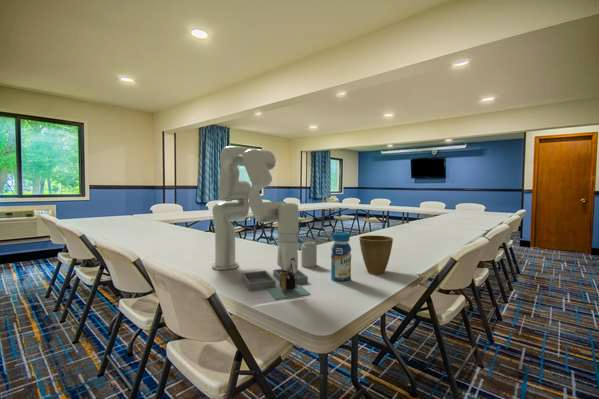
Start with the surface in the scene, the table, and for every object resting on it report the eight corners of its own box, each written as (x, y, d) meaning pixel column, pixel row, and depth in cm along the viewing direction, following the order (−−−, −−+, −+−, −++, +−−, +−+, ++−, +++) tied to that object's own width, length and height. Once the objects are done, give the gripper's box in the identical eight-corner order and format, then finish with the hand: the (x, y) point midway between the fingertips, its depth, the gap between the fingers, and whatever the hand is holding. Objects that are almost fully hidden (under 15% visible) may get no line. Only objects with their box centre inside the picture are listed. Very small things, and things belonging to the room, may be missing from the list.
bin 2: (273, 276, 123) (273, 269, 123) (295, 274, 127) (295, 267, 127) (283, 287, 110) (283, 279, 110) (307, 284, 113) (307, 276, 113)
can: (315, 269, 134) (315, 244, 133) (299, 268, 135) (300, 243, 135) (317, 265, 141) (317, 241, 141) (302, 264, 143) (302, 240, 142)
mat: (266, 290, 106) (266, 288, 106) (299, 286, 111) (299, 284, 111) (275, 301, 96) (275, 299, 96) (310, 296, 101) (310, 293, 101)
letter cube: (279, 285, 105) (279, 272, 105) (292, 284, 107) (292, 270, 107) (283, 290, 100) (283, 276, 100) (296, 288, 102) (297, 274, 102)
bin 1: (242, 280, 118) (242, 273, 118) (265, 277, 122) (265, 270, 122) (249, 291, 105) (248, 284, 105) (275, 288, 109) (275, 280, 108)
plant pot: (394, 269, 134) (394, 236, 133) (390, 279, 120) (390, 241, 119) (362, 266, 140) (363, 234, 139) (355, 274, 126) (355, 238, 126)
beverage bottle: (339, 276, 123) (339, 230, 123) (355, 280, 117) (355, 233, 117) (326, 280, 118) (326, 233, 117) (342, 285, 112) (343, 235, 111)
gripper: (271, 234, 109) (271, 280, 110) (285, 242, 94) (285, 296, 94) (289, 233, 112) (289, 278, 113) (306, 240, 96) (306, 293, 97)
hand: (288, 286), depth 104 cm, fingers closed on letter cube, 4 cm apart
